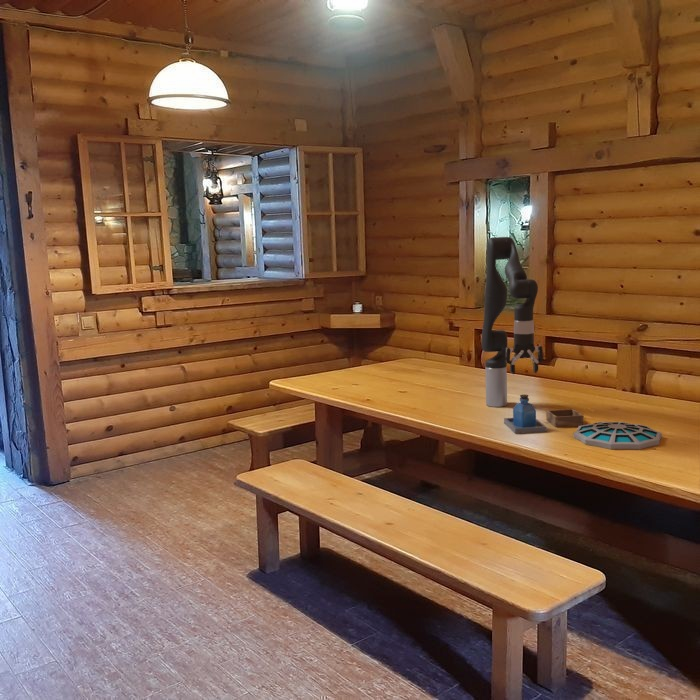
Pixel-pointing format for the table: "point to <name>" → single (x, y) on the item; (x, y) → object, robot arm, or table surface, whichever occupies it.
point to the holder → (564, 418)
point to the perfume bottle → (524, 413)
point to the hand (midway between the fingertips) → (524, 373)
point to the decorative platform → (618, 435)
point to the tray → (519, 430)
